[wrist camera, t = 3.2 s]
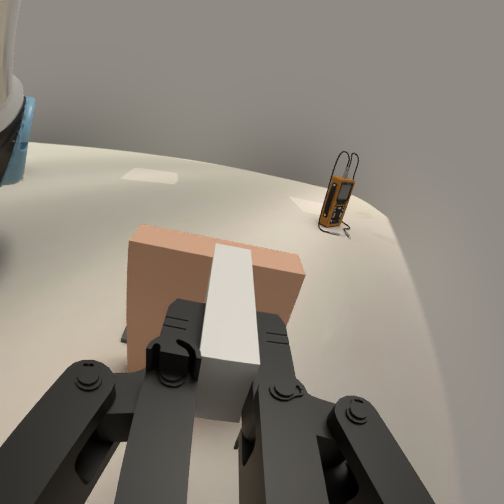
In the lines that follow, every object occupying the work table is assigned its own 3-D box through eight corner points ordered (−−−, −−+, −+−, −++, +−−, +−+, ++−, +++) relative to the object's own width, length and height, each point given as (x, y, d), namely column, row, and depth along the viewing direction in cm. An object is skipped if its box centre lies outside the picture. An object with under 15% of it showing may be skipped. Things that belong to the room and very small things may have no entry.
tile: (256, 400, 27) (305, 274, 21) (128, 378, 25) (128, 240, 20) (254, 374, 30) (297, 253, 24) (136, 353, 28) (142, 222, 22)
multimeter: (341, 242, 71) (368, 160, 63) (309, 224, 77) (332, 147, 69) (368, 236, 81) (392, 167, 72) (339, 220, 87) (360, 154, 79)
